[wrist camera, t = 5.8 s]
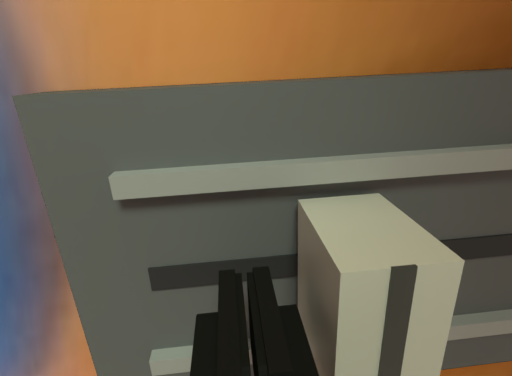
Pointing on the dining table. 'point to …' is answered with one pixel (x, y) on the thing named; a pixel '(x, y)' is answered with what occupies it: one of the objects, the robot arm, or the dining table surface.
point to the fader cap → (373, 288)
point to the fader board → (265, 195)
